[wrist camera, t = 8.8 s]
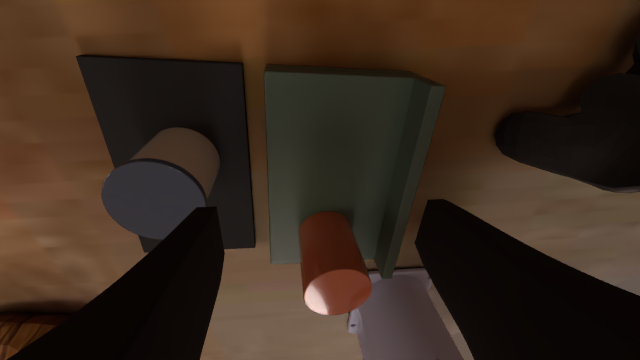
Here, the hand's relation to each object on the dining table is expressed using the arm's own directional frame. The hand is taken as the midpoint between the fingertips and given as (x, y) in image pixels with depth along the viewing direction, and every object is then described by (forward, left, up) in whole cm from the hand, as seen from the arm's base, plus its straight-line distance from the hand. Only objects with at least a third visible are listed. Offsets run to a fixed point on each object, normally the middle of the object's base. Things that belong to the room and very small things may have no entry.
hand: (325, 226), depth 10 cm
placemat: (-3, +8, -10) cm, 13 cm away
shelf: (-3, -2, -10) cm, 11 cm away
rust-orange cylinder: (-7, -2, -8) cm, 11 cm away
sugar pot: (-2, +8, -10) cm, 13 cm away
